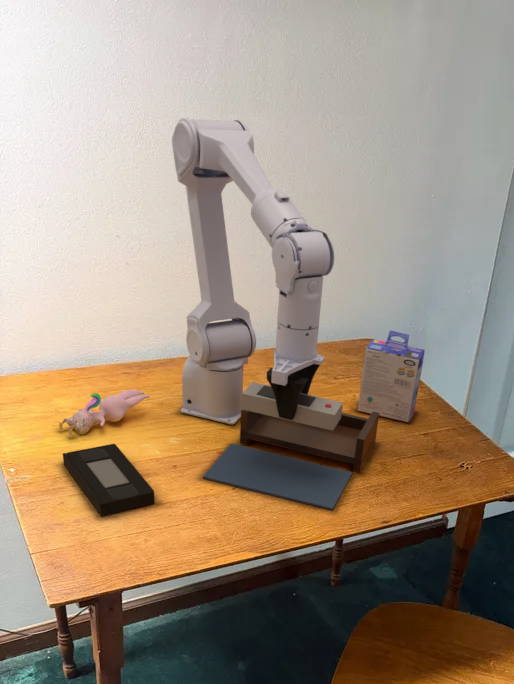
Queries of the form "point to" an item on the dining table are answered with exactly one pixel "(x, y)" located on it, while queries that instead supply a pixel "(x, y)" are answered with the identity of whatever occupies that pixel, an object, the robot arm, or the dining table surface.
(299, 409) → the remote
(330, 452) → the dark wooden tray
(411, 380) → the ink cartridge box
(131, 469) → the vhs tape
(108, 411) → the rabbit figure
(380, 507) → the dining table surface
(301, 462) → the desk mat
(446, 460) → the dining table surface
